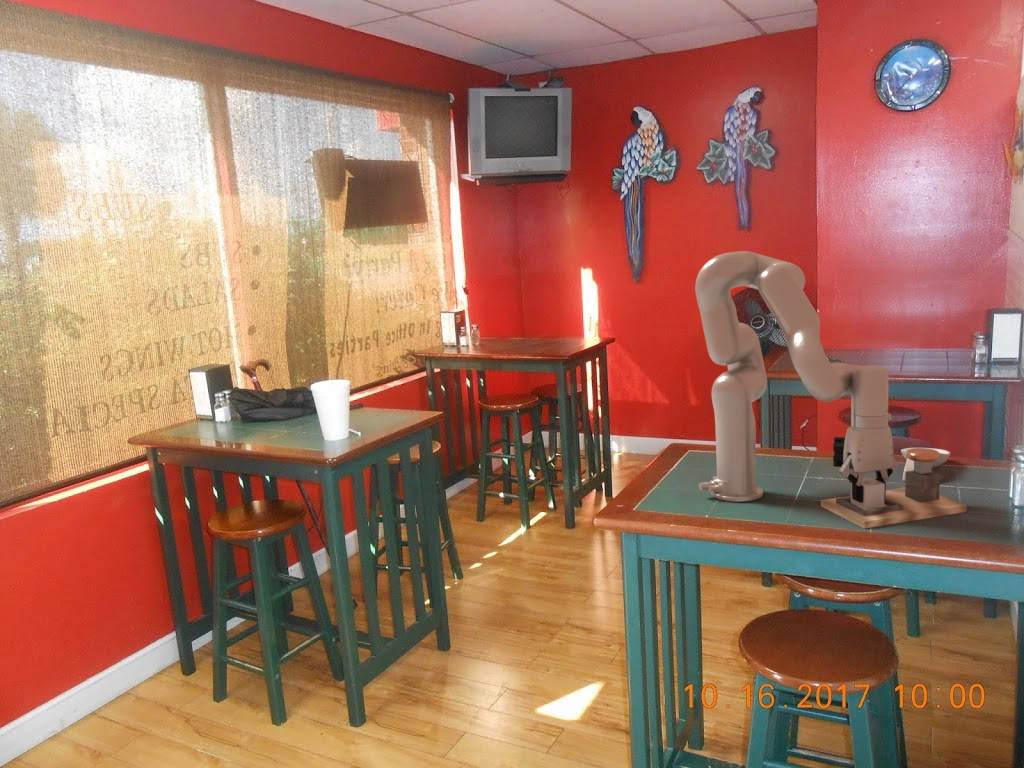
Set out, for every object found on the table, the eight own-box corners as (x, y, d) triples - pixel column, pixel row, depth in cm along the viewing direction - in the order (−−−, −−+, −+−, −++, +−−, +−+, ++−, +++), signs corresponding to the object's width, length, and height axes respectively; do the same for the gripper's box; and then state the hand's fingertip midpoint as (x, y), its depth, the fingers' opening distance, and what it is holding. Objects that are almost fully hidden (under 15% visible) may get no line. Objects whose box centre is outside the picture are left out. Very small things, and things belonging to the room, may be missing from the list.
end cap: (861, 468, 218) (861, 444, 217) (833, 467, 221) (833, 443, 220) (861, 458, 227) (861, 434, 226) (834, 457, 230) (834, 434, 229)
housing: (850, 502, 187) (851, 478, 186) (869, 499, 188) (870, 476, 187) (864, 510, 183) (865, 485, 181) (884, 507, 184) (884, 482, 182)
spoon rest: (905, 457, 226) (905, 432, 225) (952, 461, 219) (953, 435, 218) (888, 481, 207) (888, 453, 206) (940, 486, 200) (940, 458, 199)
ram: (920, 486, 183) (920, 457, 182) (900, 479, 190) (901, 450, 188) (944, 483, 185) (945, 453, 184) (924, 475, 191) (925, 446, 190)
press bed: (864, 528, 176) (864, 495, 175) (820, 506, 191) (820, 475, 190) (966, 511, 182) (967, 479, 180) (916, 491, 197) (916, 461, 196)
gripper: (891, 413, 187) (890, 489, 190) (825, 422, 183) (825, 499, 186) (914, 420, 180) (912, 499, 183) (846, 429, 176) (845, 509, 179)
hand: (868, 498), depth 185 cm, fingers closed on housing, 4 cm apart
